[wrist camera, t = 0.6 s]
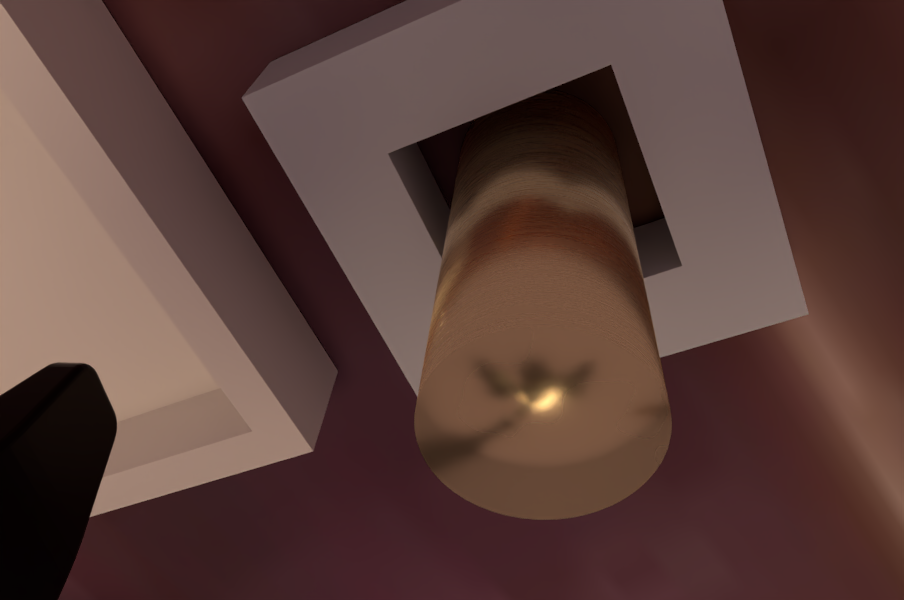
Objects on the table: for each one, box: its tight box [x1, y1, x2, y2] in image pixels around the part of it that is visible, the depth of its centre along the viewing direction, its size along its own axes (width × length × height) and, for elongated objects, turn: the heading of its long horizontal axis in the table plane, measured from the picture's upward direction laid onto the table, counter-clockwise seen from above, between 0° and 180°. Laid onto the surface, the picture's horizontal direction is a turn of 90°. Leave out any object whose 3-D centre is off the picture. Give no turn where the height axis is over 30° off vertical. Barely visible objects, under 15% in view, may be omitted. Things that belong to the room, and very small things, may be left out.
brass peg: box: [414, 90, 672, 520], centre depth 18 cm, size 4×4×10 cm
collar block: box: [242, 0, 809, 397], centre depth 21 cm, size 10×10×2 cm
